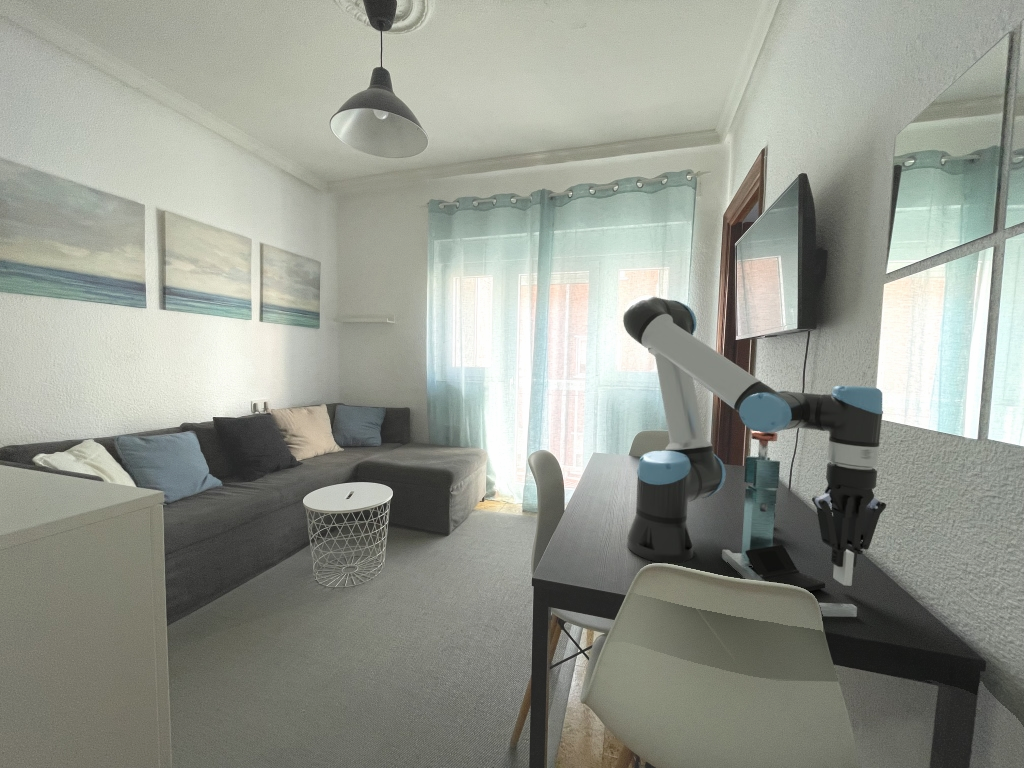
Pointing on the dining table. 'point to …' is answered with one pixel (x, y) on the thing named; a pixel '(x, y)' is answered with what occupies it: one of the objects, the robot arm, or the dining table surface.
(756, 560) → the handheld gaming console
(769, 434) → the plunger
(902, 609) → the dining table surface
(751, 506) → the frame
